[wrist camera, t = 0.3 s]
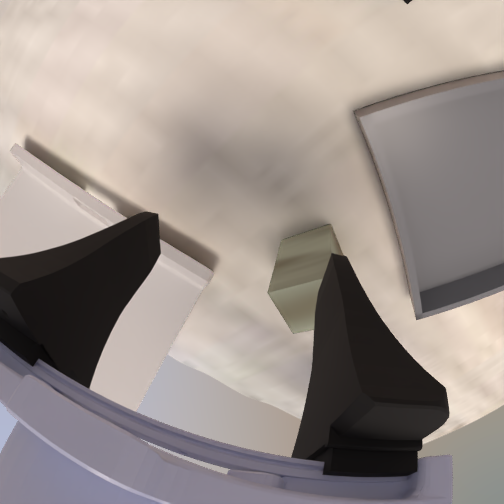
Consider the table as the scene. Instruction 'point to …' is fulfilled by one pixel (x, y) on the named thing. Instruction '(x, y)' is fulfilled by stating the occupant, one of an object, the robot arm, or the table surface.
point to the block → (301, 275)
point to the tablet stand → (141, 304)
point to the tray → (444, 187)
